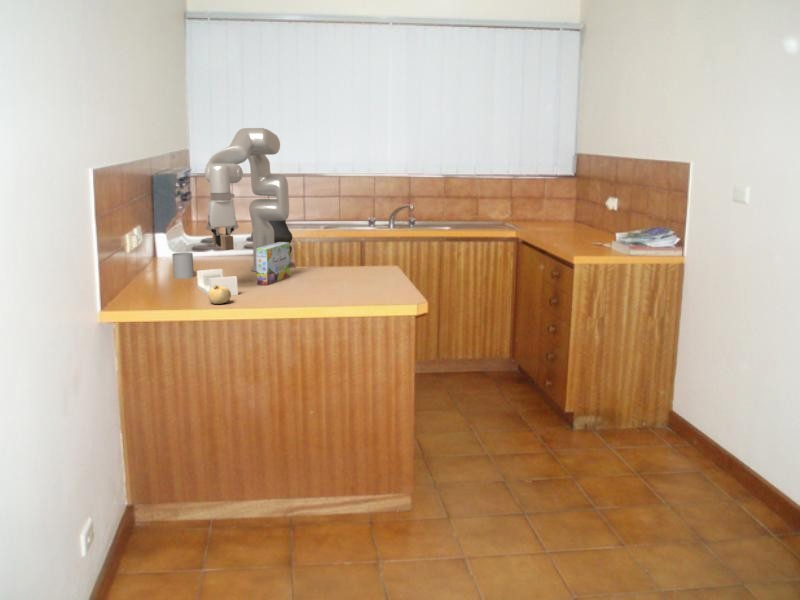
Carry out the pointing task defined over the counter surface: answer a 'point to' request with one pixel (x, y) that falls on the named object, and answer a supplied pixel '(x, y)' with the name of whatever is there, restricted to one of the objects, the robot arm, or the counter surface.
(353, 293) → the counter surface
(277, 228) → the pitcher
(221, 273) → the white bracket frame
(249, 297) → the counter surface
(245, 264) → the counter surface
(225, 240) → the tan bar
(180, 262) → the cup
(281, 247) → the snack box
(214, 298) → the onion
